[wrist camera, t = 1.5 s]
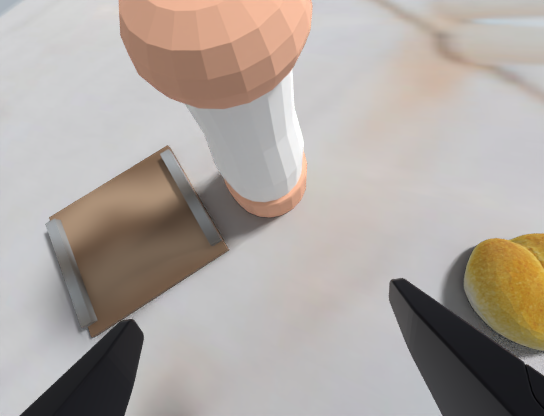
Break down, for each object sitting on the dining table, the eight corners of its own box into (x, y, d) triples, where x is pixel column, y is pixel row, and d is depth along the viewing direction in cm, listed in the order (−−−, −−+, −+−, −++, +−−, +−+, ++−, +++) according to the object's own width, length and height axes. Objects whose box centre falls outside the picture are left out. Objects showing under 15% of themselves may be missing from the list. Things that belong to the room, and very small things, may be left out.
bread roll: (445, 245, 22) (475, 238, 18) (556, 231, 22) (611, 221, 18) (478, 352, 20) (520, 369, 16) (603, 340, 19) (679, 355, 15)
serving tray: (229, 250, 24) (225, 248, 23) (95, 336, 23) (85, 339, 22) (170, 147, 28) (164, 141, 26) (53, 218, 27) (42, 215, 26)
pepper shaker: (262, 233, 24) (137, 77, 6) (218, 178, 26) (20, -69, 8) (322, 185, 25) (384, -96, 6) (274, 135, 27) (216, -188, 8)
